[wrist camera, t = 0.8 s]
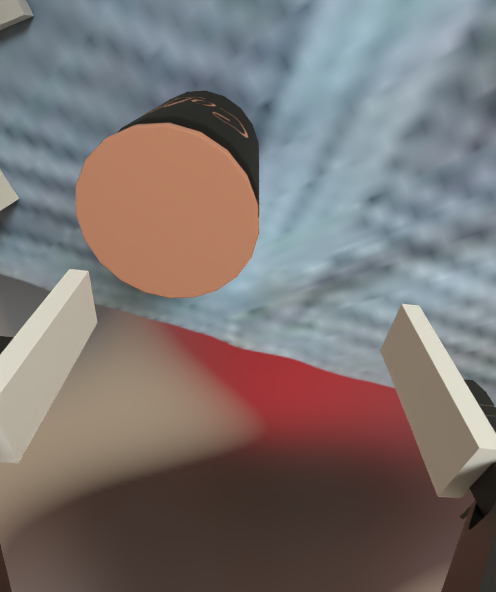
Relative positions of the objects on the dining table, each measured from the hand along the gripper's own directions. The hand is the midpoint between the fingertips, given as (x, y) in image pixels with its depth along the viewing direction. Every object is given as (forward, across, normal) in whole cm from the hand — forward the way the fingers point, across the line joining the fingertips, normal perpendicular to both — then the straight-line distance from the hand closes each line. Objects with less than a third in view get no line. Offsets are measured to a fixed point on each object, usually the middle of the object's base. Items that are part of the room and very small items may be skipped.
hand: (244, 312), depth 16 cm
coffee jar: (+25, -5, 0) cm, 26 cm away
